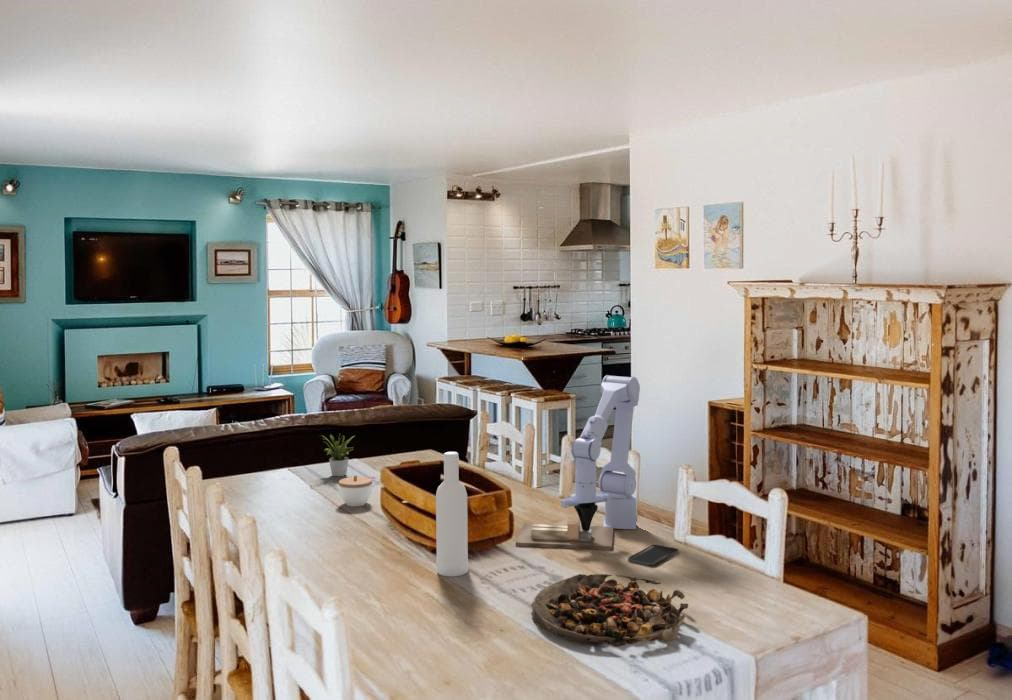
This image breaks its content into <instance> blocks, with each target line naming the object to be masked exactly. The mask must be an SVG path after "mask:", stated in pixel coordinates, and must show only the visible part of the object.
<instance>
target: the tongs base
mask: <svg viewBox="0 0 1012 700" xmlns="http://www.w3.org/2000/svg"><path fill="white" fill-rule="evenodd" d="M533 524H534V523H523V525H522V528H521V530H520V532H519V534H518V535H517V536H518V537H517V539H516V542H515V546H516V547H530V548H533V547H534V548H551V549H553V548H555V549H556V548H557V549H577V550H603V551H604V550H605V551H608V550H609V551H613V539H614V538H613V537H614V529H613V527H603V525H602V526H601V525H599V526H598V525H597V526H596V525H590V529H589V531H584V530H582V526H581V525H580V531H579V540H578V541H573V540H567V529H559V528H533ZM543 524H544V523H543ZM544 525H551V524H548V523H547V524H544ZM560 525H561V526H567V524H560Z"/></svg>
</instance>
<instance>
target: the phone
mask: <svg viewBox="0 0 1012 700" xmlns="http://www.w3.org/2000/svg"><path fill="white" fill-rule="evenodd" d="M677 554H679V549H678V548H675V547H670V546H666V545H661V544H652V545H649V546H648V547H646V548H644V549H642V550H640V551H638V552H637V553H634V554H632V555H631V556H629V557H628V558H627V562H629V563H631V564H636V565H640V566H646V567H649V568H655V567H657V566H659V565H661V564H662V563H664V562H665V561H668V560H669V559H671V558H672V557H674V556H676V555H677ZM660 563H661V564H660Z"/></svg>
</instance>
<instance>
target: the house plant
mask: <svg viewBox="0 0 1012 700" xmlns="http://www.w3.org/2000/svg"><path fill="white" fill-rule="evenodd" d="M340 435H341V434H339V436H338V437H339V438H338V439H337V440H336V441H335V437H334V436H333V435H332V434H330V435H329V437H330V439H331V441H330V440H329V439H328V438H327V437H325V436H324V435H322V437H323V438H324V443H325V444H326V445H327V446H328V447H329V448H328V447H327V448H325V449H324V450H322V451H323V452H327V453H326V456H328V455H331V457H330V458H329V460H328V461H329V466H330V471H331V475H332V476H331V477H333V476H343V477H345V476H344V475H346V476H347V473H348V472H347V471H348V467H349V466H348V465H349V457H347V456H346V455H349V454H350V453H349V452H350V451H352V449H354V446H352V447H348V446H347V445H348V444H349V443H350V441H351V440H352V439H354V437H355V435H353V436H351V437H350V438H349V439H347V440H346V441H345V436H342V437H343V438H342V437H340ZM319 436H321V435H320V434H319ZM341 439H342V440H341ZM325 440H326V441H327V442H328V443H327V442H326V441H325ZM340 442H341V444H340ZM329 444H330V445H329ZM349 449H350V450H349ZM333 450H334V451H333Z"/></svg>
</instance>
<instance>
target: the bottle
mask: <svg viewBox="0 0 1012 700" xmlns="http://www.w3.org/2000/svg"><path fill="white" fill-rule="evenodd" d="M442 460H443V481H442V482H441V484H440V485H438V487H437V489H436V492H435V493H436V494H435V519H436V520H435V522H436V529H435V530H436V531H435V534H436V559H435V563H436V565H435V566H436V573H437V574H438V575H439V576H442V577H447V578H448V577H460V576H463V575H465V574H467V573H468V571H469V558H468V557H469V555H468V554H469V553H468V551H469V550H468V549H469V546H468V545H469V544H468V542H469V541H468V537H469V536H468V531H469V530H468V529H469V528H468V493H467V490H466V487H465V485H464V484H463V483H462V482H461V481H460V478H459V474H460V473H459V471H460V470H459V469H460V467H459V461H460V458H459V453H458V452H457V451H447V452H444V453H443V459H442Z"/></svg>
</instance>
